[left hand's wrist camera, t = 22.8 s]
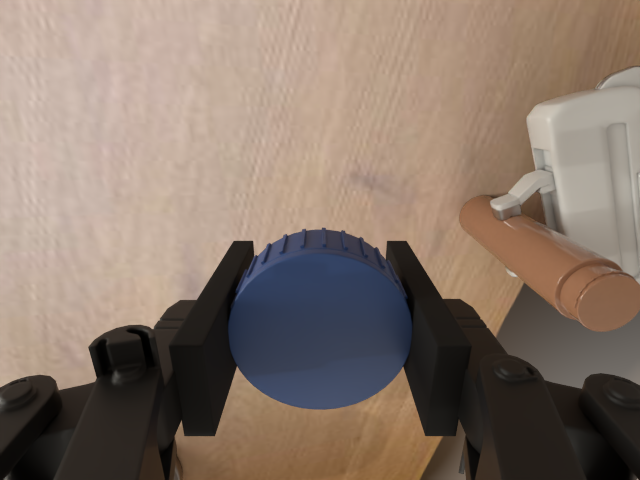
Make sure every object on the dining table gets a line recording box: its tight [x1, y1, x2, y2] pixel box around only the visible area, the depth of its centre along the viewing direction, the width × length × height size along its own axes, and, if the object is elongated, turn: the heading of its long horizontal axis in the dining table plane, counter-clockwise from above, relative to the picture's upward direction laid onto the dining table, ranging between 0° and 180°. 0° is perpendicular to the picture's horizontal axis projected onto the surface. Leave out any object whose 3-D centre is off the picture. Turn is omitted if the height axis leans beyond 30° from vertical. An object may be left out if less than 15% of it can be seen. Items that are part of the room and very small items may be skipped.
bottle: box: [460, 195, 640, 332], centre depth 30 cm, size 4×4×18 cm
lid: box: [228, 228, 413, 409], centre depth 11 cm, size 5×6×2 cm
